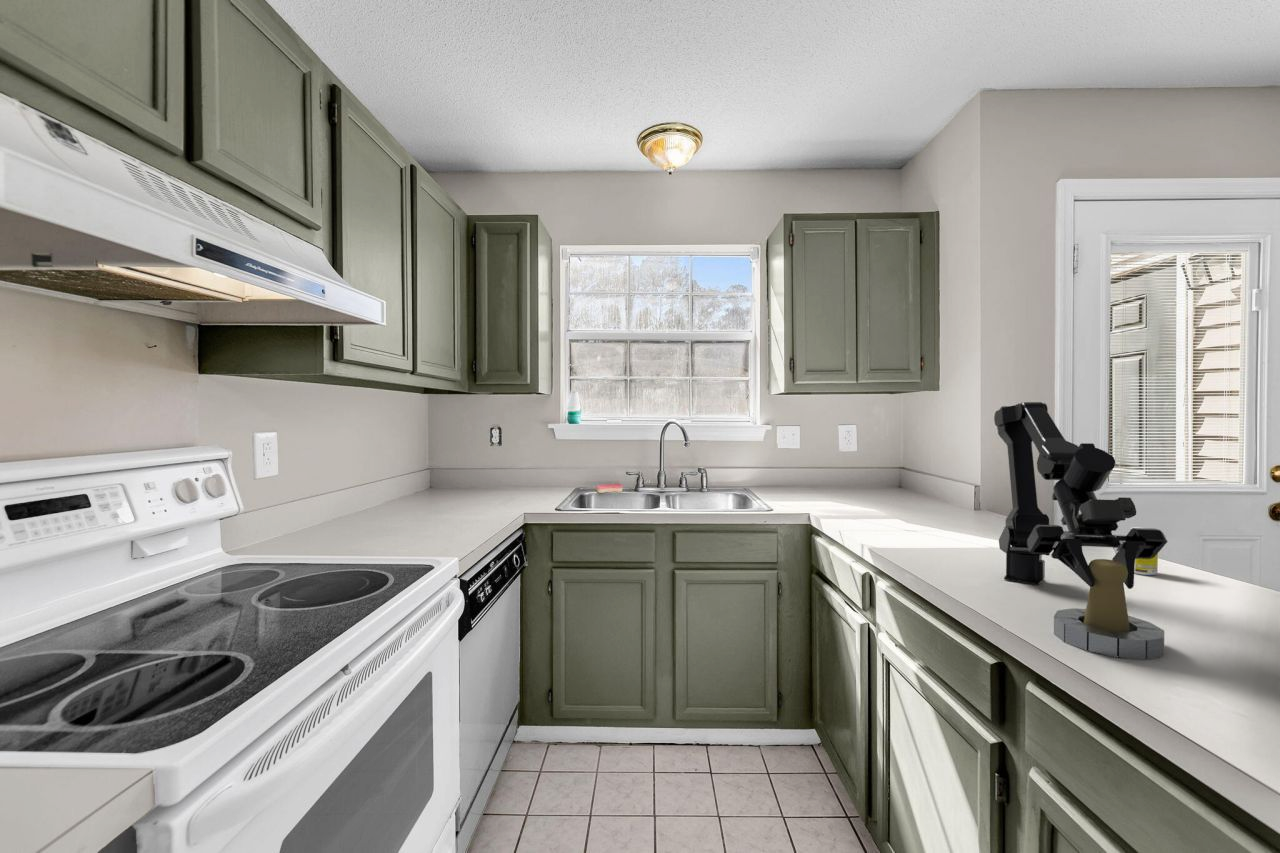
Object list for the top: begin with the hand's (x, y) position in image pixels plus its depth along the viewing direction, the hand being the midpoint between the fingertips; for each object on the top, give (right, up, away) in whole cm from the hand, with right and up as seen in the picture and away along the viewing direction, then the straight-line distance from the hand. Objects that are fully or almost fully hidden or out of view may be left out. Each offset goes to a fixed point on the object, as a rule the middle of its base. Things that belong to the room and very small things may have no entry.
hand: (1111, 586), depth 95 cm
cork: (0, -7, +2) cm, 7 cm away
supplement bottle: (+39, -8, +40) cm, 57 cm away
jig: (0, -9, +1) cm, 9 cm away
